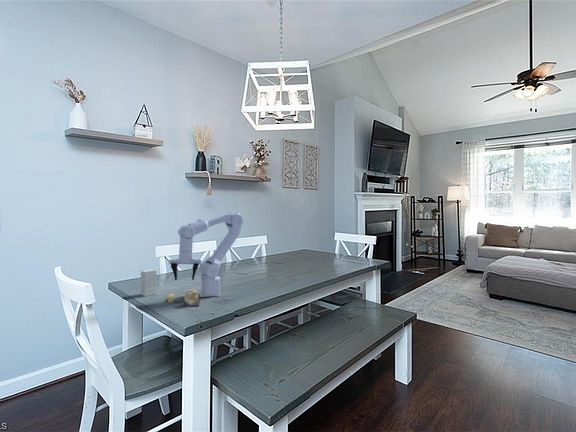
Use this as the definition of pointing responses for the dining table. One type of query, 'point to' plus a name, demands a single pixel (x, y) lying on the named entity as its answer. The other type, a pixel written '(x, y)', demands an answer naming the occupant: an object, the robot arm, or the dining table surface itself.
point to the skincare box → (148, 282)
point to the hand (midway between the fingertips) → (184, 279)
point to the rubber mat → (192, 304)
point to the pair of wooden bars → (173, 297)
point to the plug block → (191, 297)
